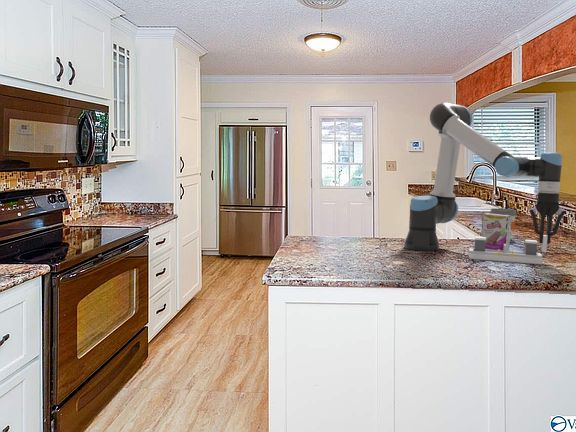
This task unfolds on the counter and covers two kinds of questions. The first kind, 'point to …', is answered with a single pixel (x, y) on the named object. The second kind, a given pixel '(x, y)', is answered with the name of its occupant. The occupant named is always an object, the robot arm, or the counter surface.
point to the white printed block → (506, 212)
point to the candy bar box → (496, 231)
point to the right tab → (530, 247)
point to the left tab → (480, 243)
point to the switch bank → (505, 256)
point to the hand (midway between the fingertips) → (543, 251)
